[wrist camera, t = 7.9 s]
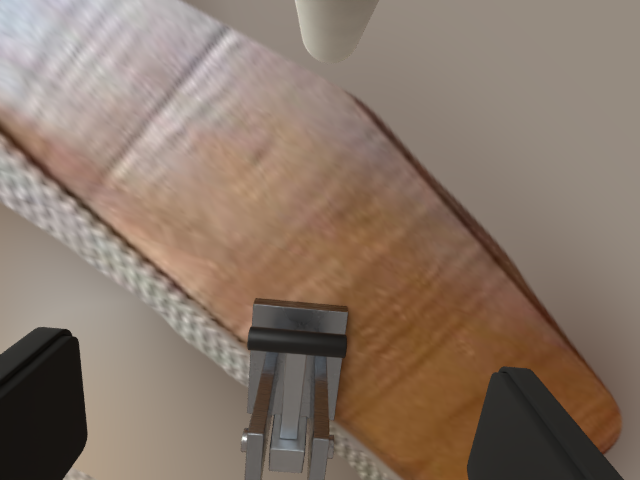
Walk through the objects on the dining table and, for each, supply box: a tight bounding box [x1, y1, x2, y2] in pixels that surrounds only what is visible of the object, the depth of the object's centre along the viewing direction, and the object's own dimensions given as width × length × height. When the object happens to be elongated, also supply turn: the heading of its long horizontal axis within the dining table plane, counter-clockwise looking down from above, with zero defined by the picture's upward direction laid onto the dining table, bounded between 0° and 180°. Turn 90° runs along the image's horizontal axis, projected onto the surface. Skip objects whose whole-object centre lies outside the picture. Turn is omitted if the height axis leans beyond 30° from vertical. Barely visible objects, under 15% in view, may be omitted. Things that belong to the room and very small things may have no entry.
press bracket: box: [241, 298, 348, 480], centre depth 30 cm, size 11×8×12 cm
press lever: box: [247, 326, 347, 473], centre depth 23 cm, size 12×5×2 cm, turn 173°
